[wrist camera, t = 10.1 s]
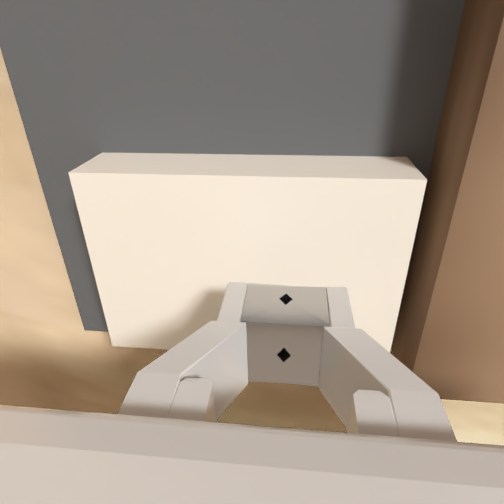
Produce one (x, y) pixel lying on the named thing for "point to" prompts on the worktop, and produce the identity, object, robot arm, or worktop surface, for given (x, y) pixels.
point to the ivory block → (243, 234)
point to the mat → (220, 87)
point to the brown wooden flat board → (462, 228)
